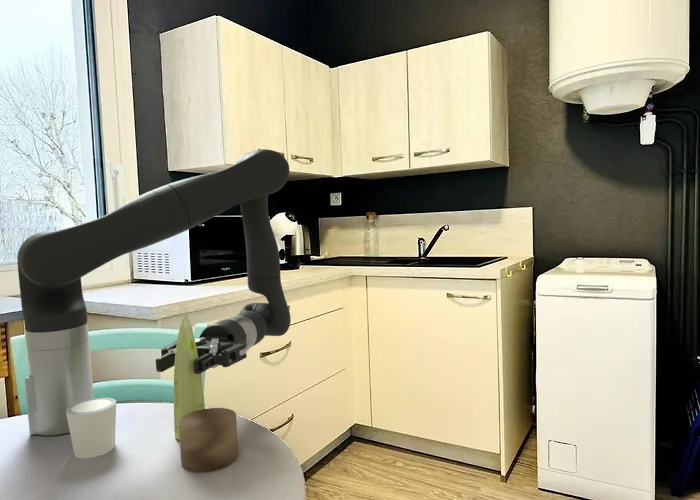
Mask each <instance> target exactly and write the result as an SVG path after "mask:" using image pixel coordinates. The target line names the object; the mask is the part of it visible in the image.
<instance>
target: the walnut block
mask: <svg viewBox="0 0 700 500" xmlns="http://www.w3.org/2000/svg"><path fill="white" fill-rule="evenodd" d="M179 437H180V440H179V449H180V451H179V452H180V464H181V467H182V468H183V469H184V470H185V471H186V472H187V471H188V472H191V473H197V474H198V473H199V474H200V473H201V474H204V473H212V472H216V471H219V470H222V469H226V468H227V467H228V468H229V466H231V465H233V464H234V463H235V462H236V461H237V460H238V458H239V439H238V438H239V437H238V421H237V413H236V412H235V411H234V410H232V409H231V408H227V407H211V408H210V407H209V408H205V409H202V410H198V411H195V412H192V413H189V414H187V415H185V416H184V417H182V418H181V419H180V421H179Z"/></svg>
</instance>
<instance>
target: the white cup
mask: <svg viewBox="0 0 700 500" xmlns="http://www.w3.org/2000/svg"><path fill="white" fill-rule="evenodd" d="M66 414H67V420H68V425H69V430H70V432H69V435H70V438H71V439H70V440H71V445H72V451H73V455H74V456H75V457H76V458H77V459H92V458H97V457H100V456H103V455H106V454H108V453H110V452H111V451H113V450H114V449H115V447H116V429H117V428H116V425H117V424H116V422H117V421H116V419H117V418H116V417H117V400H116V399H114V398H112V397H96V398H95V397H94V399H88V400H84V401H81V402H78V403H75V404H73V405H71V406H70V407H68V408H67V410H66Z"/></svg>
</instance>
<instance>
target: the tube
mask: <svg viewBox="0 0 700 500" xmlns="http://www.w3.org/2000/svg"><path fill="white" fill-rule="evenodd" d="M187 312H188V311H187V310H185V312H184V315H183V318H182V319H181V325H180V327H179V329H178V333H177V339H176V340H177V345H176V354H175V365H174V366H173V368H174V369H173V372H174V373H173V422H174V423H173V427H174V437H175V438H176V439H177V440H179V441H180V437H179V421H180V419H181V418H182V417H184V416H185V415H187V414H189V413H192V412H195V411H198V410H202V409H206V405H205V396H204V387H203V380H202V373H201V374H195V373H194V360H196V359H197V358H198V353H197V348H196V343H195V339H196V338H195V334H194V329H193V326H192V323H191V320H190V318H189V316H188V313H187Z"/></svg>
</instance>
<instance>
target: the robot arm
mask: <svg viewBox="0 0 700 500" xmlns="http://www.w3.org/2000/svg"><path fill="white" fill-rule="evenodd" d="M289 176H290V164H289V162H288V160H287V159H286V157H285V156H283V154H281V153H280V152H278V151H277V150H272V149H266V148H265V149H257V150H253V151H249V152H245V153H244V154H242V155H241V156H239V157H238V159H237V160H236V161H235V164H233V165H231V166H228V167H227V168H224V169H221V170H218V171H214V172H209V173H206V174H200V175H196V176H191V177H189V178H184V179H181V180H177V181H174V182H170V183H167V184H165V185H162V186H160V187H157V188H155V189H152V190H150V191H147V192H145V193H142V194H140V195H138V196H136V197H134V198H132V199H131V200H129V201H126V202H125V203H124V204H122V205H120V206H119V207H118V208H115V209H114V210H112V211H110V212H109V213H107V214H105V215H102V216H100V217H98V218H96V219H93V220H90V221H86V222H83V223H80V224H77V225H74V226H73V225H72V226H70V227H66V228H62V229H59V230H53V231H52V230H51V231H50V230H49V231H48V230H47V231H41V232H37V233H34V234H32V235H31V236H30V235H29V237H28V238H27V239H26V240H24V241H23V243H22V244H21V245H20V247H19V249H18V252H17V262H16V263H17V273H18V284H19V292H20V303H21V311H22V317H23V323H24V330H25V331H24V334H25V335H24V336H25V342H26V343H25V345H26V355H27V367H28V375H27V376H26V377H25V378H24V385H25V387H24V388H25V397H26V407H27V408H26V409H27V420H28V429H29V436H30V435H32V436H33V435H40V436H57V435H65V434H68V433H69V434H70V430H69V425H68V420H67V414H66V410H67V408H68V407H70V406H71V405H73V404H75V403H78V402H81V401H84V400H88V399H94V398H95V397H94V385H93V373H92V361H91V360H92V359H91V349H90V348H91V347H90V336H89V335H90V334H89V325H88V324H89V323H88V311H87V310H88V309H87V305H86V303H85V299H84V294H83V287H82V286H83V285H82V278H83V277H85V276H87V274H89V273H91V272H92V271H94V270H96V269H99V268H100V267H102V266H104V265H105V264H108V263H110V262H111V261H113V260H115V259H117V258H119V257H121V256H124V255H126V254H129V253H132V252H135V251H138V250H141V249H143V248H146V247H147V248H148V247H150V246H152V245H155V244H157V243H160V242H162V241H165V240H168V239H170V238H172V237H175V236H177V235H180V234H182V233H183V232H186V231H188V230H190V229H193V228H195V227H196V226H198V225H201V224H202V223H205V222H207V221H209V220H211V219H213V218H215V217H217V216H218V215H221V214H223V213H224V212H225V211H227V210H229V209H231V208H233V207H236V206H237V205H239V207H240V213H241V219H242V225H243V231H244V241H245V242H244V243H245V253H246V254H245V255H246V270H247V271H246V275H247V287H248V289H249V291H250V292H253V293H256V294H259V295H262V296H263V297H264V298H266V300H267V302H251V303H247V304H246V305H244V306H243V307H242V309H241V310H240V312H239V313H238V314H235V315H232V316H228V317H225V318H223V319H221V320H218V321H217V322H214V323H211V324H210V325H208V326H206V327H205V328H204V329H203V330H202V332H201V334H200V335H199V337H197V338H195V343H196V348H197V353H198V358H197V359H196V360H194V373H195V374H201V375H202V373H204V372H206V371H207V370H209V369H211V368H212V369H215V368H218V367H219V366H221V367H222V368H229V367H231V366H233V365H235V364H237V363H239V362H241V361H243V360H245V359H246V358H247V357H248V356H247V355H248V354H247V352H248V351H249V350H250V349H251V348H252V347H255V345H257V344H258V343H260V342H262V341H263V339H264V338H265V337H266V336H267V337H269V336H270V337H282V336H284V335H285V334H287V332H288V331H289V329H290V326H291V319H292V318H291V313H290V309H289V306H288V302H287V300H286V296H285V293H284V289H283V286H282V282H281V260H280V259H281V258H280V252H279V247H278V242H277V240H276V236H275V233H274V231H273V227H272V224H271V221H270V216H269V204H268V203H269V195H271V194H274V193H276V192H278V191H280V190H281V189H282V188H283V187H284V186H285V184H286V183H287V182H288V179H289ZM176 345H177V339H176V340H174V341H173V342H171V343H169V344H168V345H167V344H166V346H164V347H162V348H160V354H161V355H160V356H159V357H157V358H155V370H156V372H158V373H163V372H165V371H168V370H169V369H171V368H172V367H173V368H174V366H175V354H176Z"/></svg>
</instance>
